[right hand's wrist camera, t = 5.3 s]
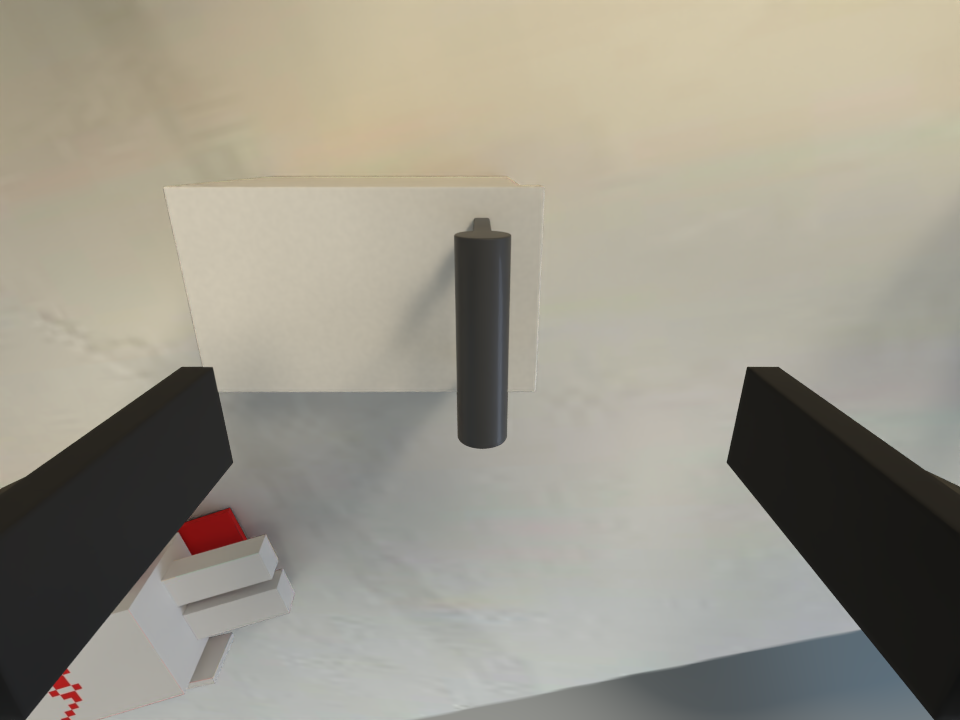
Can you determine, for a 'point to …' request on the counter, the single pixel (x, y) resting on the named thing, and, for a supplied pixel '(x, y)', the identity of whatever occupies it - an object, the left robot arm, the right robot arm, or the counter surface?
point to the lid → (367, 290)
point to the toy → (173, 622)
